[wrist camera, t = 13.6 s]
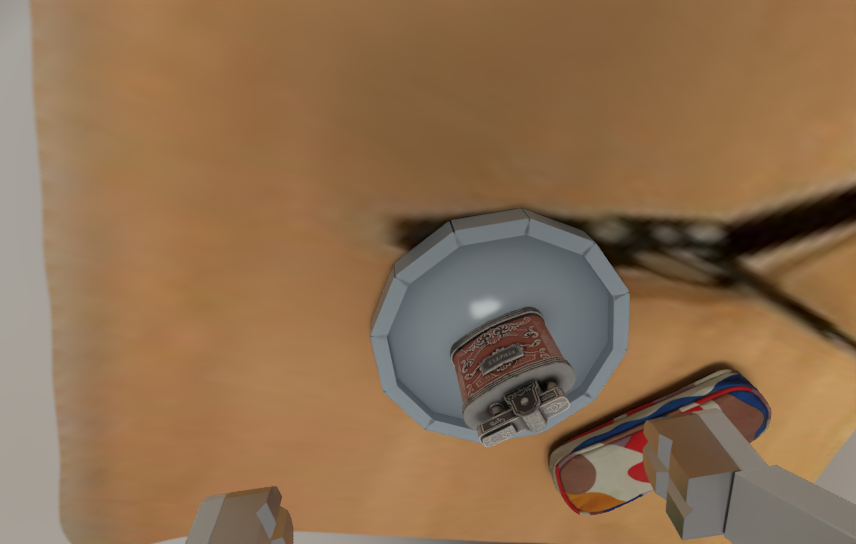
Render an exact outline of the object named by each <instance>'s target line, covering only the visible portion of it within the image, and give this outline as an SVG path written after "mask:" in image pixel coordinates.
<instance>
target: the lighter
mask: <svg viewBox="0 0 856 544" xmlns="http://www.w3.org/2000/svg"><path fill="white" fill-rule="evenodd" d="M450 357H451V362H452V364H453V366H454V367H455V370H456V374H457V379H458V383H459V388H460V392H461V397H462V402H463V405H462V414H463V418H464V421H465V423H466V425H467V426H468V427H469V428H471V429H473V430H476V431H477V432H478V436H479V440H480V442H481V444H482V445H483V446H485V447H491V446H494V445H496V444H498V443H500V442H502V441H504V440H506V439H508V438H510V437H512V436H515V435H517V434H518V433H519V432H521V431H524V430H529V431H531V432H538V431H540V430H542V429H544V428H545V427H546V425H547V421H548V420H549V419H550V418H551V417H553V416H555V415H557V414H559V413H561V412H563V411H565V410H567V409H568V408H569V407H570V403H569V401H568V399H567V397H566V395H565V393H566V392H567V391H569V390H570V389H571V388H572V387H573V385H574V383H575V380H576V375H575V372H574V370H573V368H572V366H571V364H570V363H569V362H568V361H567V360H566V359H564V357H563V355H562V354H561V352H560V350H559V348H558V347H557V345H556V343H555V341H554V339H553V338H552V336H551V334H550V332H549V330H548V329H547V327H546V321H545V319H544V317H543V315H542V313H541V312H540V311H539V310H538V309H537V308H535V307H531V306H527V307H522V308H519V309H516V310H513V311H510V312H507V313H504V314H502V315H500V316H498V317H495V318H493V319H491V320H489V321H486V322H485V323H483V324H481V325H480V326H478V327H476V328H475V329H473V330H471V331H470V332H468V333H467V334H466V335H464V336H463V337H462V338H460V339H459V340H458V341H456V342H455V343H454V344H453V345H452V346H451V349H450Z"/></svg>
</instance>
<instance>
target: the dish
mask: <svg viewBox="0 0 856 544" xmlns="http://www.w3.org/2000/svg"><path fill="white" fill-rule="evenodd" d="M629 300H630V293H629V290H628V289H627V287H626V286H625V285H624V283H623V282H622V280H621V279H620V277H619V276H618V274H617V273H616V272H615V270H614V269H613V267H612V266H611V264H610V263H609V261H608V260H607V259H606V257H605V256H604V254H603V253H602V251H601V250H600V248H599V247H598V246H597V244H596V243H595V242H594V241H593V240H592V239H591V238H590V237H589V236H588V235H587V234H586V233H585V232H584V231H582V230H579V229H577V228H574V227H571V226H568V225H566V224H563V223H560V222H558V221H555V220H552V219H550V218H547V217H544V216H542V215H539V214H536V213H533V212H531V211H528V210H525V209H521V208H520V209H514V210H508V211H502V212H496V213H490V214H484V215H478V216H472V217H466V218H460V219H454V220H451V223H450V222H449V221H448V222H447V223H446V224H444V225H443V226H442V227H440V228H439V229H438V230H437V231H435V232H434V233H433V234H431V235H430V236H429V237H427V238H426V239H425V240H424V241H422V242H421V243H420V244H418V245H417V246H416V247H415V248H413V249H412V250H411V251H409V252H408V253H407V254H405V255H404V256H403V257H402V258H400V259H399V260H398V261H396V262H395V265H394V264H393V267H392V269H391V272H390V274H389V277H388V279H387V282H386V284H385V287H384V289H383V292H382V294H381V297H380V299H379V302H378V304H377V307H376V309H375V312H374V314H373V317H372V319H371V333H370V338H371V342H372V347H373V351H374V355H375V359H376V364H377V368H378V372H379V376H380V381H381V385H382V389H383V391H384V393H385V394H386V395H387V396H388V397H389V398H390V399H391V400H393V401H394V402H395V403H396V404H397V405H398V406H399V407H400V408H401V409H402V410H404V411H405V412H406V413H407V414H408V415H409V416H410V417H411V418H412V419H413V420H415V421H416V422H417V423H418V424H419V425H420V426H421V427H422V428H423V429H425V430H428V431H432V432H436V433H440V434H445V435H449V436H453V437H457V438H461V439H465V440H469V441H473V442H477V443H481V442H480V440H479V436H478V432H477V431H476V430H473V429H471V428H469V427H468V426H467V425H466V423H465V421H464V418H463V414H462V405H463V402H462V397H461V392H460V388H459V383H458V379H457V374H456V370H455V367H454V366H453V364H452V362H451V357H450V349H451V346H452V345H453V344H454V343H455V342H456V341H458V340H459V339H460V338H462V337H463V336H464V335H466V334H467V333H468V332H470V331H471V330H473V329H475V328H476V327H478V326H480V325H481V324H483V323H485V322H486V321H489V320H491V319H493V318H495V317H498V316H500V315H502V314H504V313H507V312H510V311H513V310H516V309H519V308H522V307H527V306H531V307H535V308H537V309H538V310H539V311H540V312H541V313H542V315H543V317H544V319H545V321H546V327H547V329H548V330H549V332H550V334H551V336H552V338H553V339H554V341H555V343H556V345H557V347H558V348H559V350H560V352H561V354H562V355H563V357H564V359H566V360H567V361H568V362H569V363H570V364H571V366H572V368H573V370H574V372H575V375H576V380H575V383H574V385H573V387H572V388H571V389H570V390H569V391H567V392H566V393H565V395H566V397H567V399H568V401H569V403H570V407H569V408H568V409H567V410H565V411H563V412H561V413H559V414H557V415H555V416H553V417H551V418H550V419H549V420H548V421H547V425H546V427H545V428H544V429H542V430H540V431H538V432H531V431H529V430H524V431H521V432H519V433H518V434H517V435H515V436H512V437H510V438H508V439H511V438H517V437H523V436H529V435H534V434H540V433H542V432H543V433H544V432H545V431H547V430H548V429H550V428H552V427H553V426H555V425H556V424H558V423H559V422H561V421H563V420H564V419H566V418H567V417H569V416H571V415H572V414H574V413H575V412H577V411H579V410H580V409H582V408H583V407H585V406H586V405H588V404H590V403H591V402H593V401H594V399H596V398H597V396H598V395H599V393H600V392H601V390H602V389H603V387H604V386H605V384H606V383H607V381H608V379H609V378H610V376H611V375H612V373H613V372H614V370H615V369H616V367H617V366H618V364H619V363H620V361H621V359H622V358H623V356H624V355H625V353H626V352H627V350H626V349H628V328H629Z"/></svg>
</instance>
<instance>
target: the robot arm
mask: <svg viewBox="0 0 856 544" xmlns="http://www.w3.org/2000/svg"><path fill="white" fill-rule="evenodd" d="M643 434H644V435H645V437H646V439H647V440H648V443H647V444H646V445H645V446H644V448H643V463H644V467H645V472H646V475H647V477H648V480H649V482H650V484H651V486H652V488H653V490H654V491H655V493H656V494H658V495H659V496H661V497H662V498H664V499H666V513H667V515H668V516H669V518H670V520H671V522H672V523H673V525H674V527H675V529H676V530H677V532H678V534H679V536H680V537H681V539H682V540H688V539H695V538H702V537H709V536H716V535H723V534H725V535H724V537H725V538H727V539H728V540H729V541H731V542H732V543H733V544H856V505H855V504H853V503H851V502H849V501H847V500H845V499H843V498H841V497H839V496H837V495H835V494H833V493H831V492H829V491H827V490H825V489H823V488H821V487H819V486H817V485H815V484H813V483H811V482H809V481H807V480H805V479H803V478H801V477H799V476H797V475H795V474H793V473H791V472H789V471H787V470H785V469H783V468H781V467H779V466H777V465H775V466H768V464H767V463H766V462H765V461H764V460H763V459H762V457H761V456H760V455H759V454H758V453H757V452H756V450H755V449H754V448H753V447H752V446H751V445H750V443H749V442H748V441H747V440H746V439H745V438H744V437H743V435H742V434H741V433H740V432H739V431H738V430H737V428H736V427H735V426H734V425H733V424H732V423H731V421H730V420H729V419H728V418H727V417H726V416H725V414H724V413H723V412H722V411H721V410H719V409H717V408H712V409H706V410H701V411H695V412H692V413H691V412H688V413H683V414H678V415H672V416H667V417H662V418H656V419H651V420H646V422H645V424H644V433H643ZM281 499H282V496H281V494H280V492H279V490H278V488H277V487H275V486H272V487H265V488H258V489H251V490H244V491H238V492H231V493H226V494H220V495H213V496H207V497H206V498H205V499H204V500H203V501H202V502H201V504H200V507H199V509H198V512H197V514H196V517H195V519H194V522H193V524H192V527H191V530H190V532H189V535H188V537H187V540H186V542H185V544H293V525H292V520H291V517H290V514H289V512H288V510H286V509H285V508H283V507H281V506H280V503H281Z"/></svg>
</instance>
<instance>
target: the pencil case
mask: <svg viewBox="0 0 856 544" xmlns="http://www.w3.org/2000/svg"><path fill="white" fill-rule="evenodd" d="M712 408H717V409H719V410H721V411H722V412H723V413H724V414H725V416H726V417H727V418H728V419H729V420H730V421H731V423H732V424H733V425H734V426H735V427H736V428H737V430H738V431H739V432H740V433H741V434H742V435H743V437H744V438H745V439H746V440H747V441H748V442H749V443H751V442H752V441H754V440H756V439H757V438H758V437H759V436H760V435H762V434H763V433H764V432H765V431H766V430H767V429H768V427H769V424H770V420H771V408H770V406H769V405H768V403H767V401H766V400H765V398H764V397H763V395H762V394H761V393H760V392H759V391H758V390H757V389H756V388H755V387H754V386H753V385H752V384H751V383H750V382H749V381H748V380H747V379H746V378H744V377H743V376H742V375H741V374H740V373H739V372H738V371H736V370H731V369H724V370H719V371H717V372H714V373H712V374H710V375H708V376H706V377H704V378H702V379H700V380H698V381H696V382H694V383H692V384H690V385H687V386H685V387H683V388H682V389H680V390H678V391H676V392H673V393H671V394H669V395H667V396H664V397H662V398H660V399H657V400H655V401H653V402H650V403H648V404H645V405H643V406H640V407H638V408H636V409H633V410H631V411H628V412H627V413H626V414H624V415H621V416H619V417H617V418H614V419H612V420H610V421H609V422H606V423H604V424H602V425H600V426H598V427H596V428H594V429H592V430H589V431H587V432H585V433H582V434H580V435H578V436H576V437H573V438H572V439H570V440H568V441H566V442H565V443H563V444H562V445H560V446H558V447H557V448H556V449H554V450H553V452H552V453H551V455H550V458H549V469H550V472H551V474H552V478H553V482H554V485H555V488H556V489H557V490H558V491H559V493H560V494H561V496H562V497H563V499H564V500H565V502H566V503H567V505H568V506H569V507H570V508H571V509H572V510H573V511H574V512H576V513H577V514H579V515H580V514H582V515H597V514H601V513H605V512H609V511H611V510H614V509H615V508H618V507H620V506H622V505H624V504H626V503H629V502H631V501H633V500H635V499H637V498H638V497H641V496H644V495H646V494H648V493H650V492H652V491H654V490H653V488H652V486H651V484H650V482H649V480H648V477H647V475H646V472H645V467H644V463H643V448H644V446H645V445H646V444H647V443H648V440H647V439H646V437H645V435H644V434H643V433H644V424H645V422H646V420H651V419H656V418H662V417H667V416H672V415H678V414H683V413H688V412H691V413H692V412H695V411H701V410H706V409H712Z"/></svg>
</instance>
